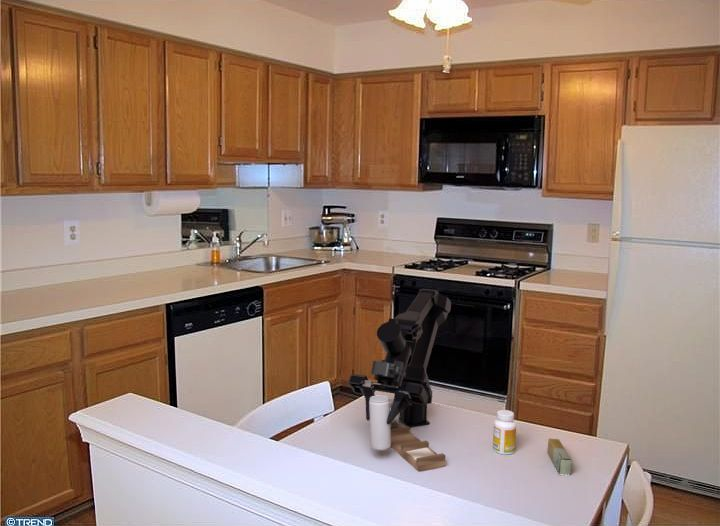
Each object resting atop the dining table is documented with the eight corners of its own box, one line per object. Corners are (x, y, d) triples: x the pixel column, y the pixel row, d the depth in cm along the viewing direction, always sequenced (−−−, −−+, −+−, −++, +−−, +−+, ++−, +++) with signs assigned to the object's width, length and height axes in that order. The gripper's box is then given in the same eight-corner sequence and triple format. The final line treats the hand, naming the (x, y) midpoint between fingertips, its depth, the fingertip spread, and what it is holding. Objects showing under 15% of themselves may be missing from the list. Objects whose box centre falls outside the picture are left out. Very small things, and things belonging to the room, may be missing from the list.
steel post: (394, 423, 167) (394, 398, 166) (402, 430, 163) (402, 404, 162) (378, 426, 165) (378, 400, 164) (386, 432, 161) (386, 406, 160)
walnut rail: (370, 429, 167) (370, 419, 167) (394, 425, 170) (394, 415, 170) (418, 471, 144) (419, 460, 143) (445, 466, 146) (445, 455, 146)
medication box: (571, 476, 143) (572, 460, 142) (558, 476, 143) (560, 459, 143) (557, 453, 155) (558, 438, 154) (546, 452, 155) (547, 437, 155)
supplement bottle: (517, 448, 157) (519, 410, 156) (512, 457, 152) (514, 418, 151) (495, 444, 159) (497, 407, 158) (490, 452, 154) (492, 414, 153)
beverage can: (389, 452, 146) (387, 402, 145) (368, 451, 147) (367, 401, 146) (392, 443, 151) (391, 395, 150) (372, 442, 152) (371, 394, 151)
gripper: (351, 341, 153) (330, 400, 145) (424, 351, 146) (407, 413, 137) (364, 364, 162) (345, 420, 153) (434, 374, 154) (418, 434, 146)
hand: (377, 421), depth 147 cm, fingers closed on beverage can, 5 cm apart
